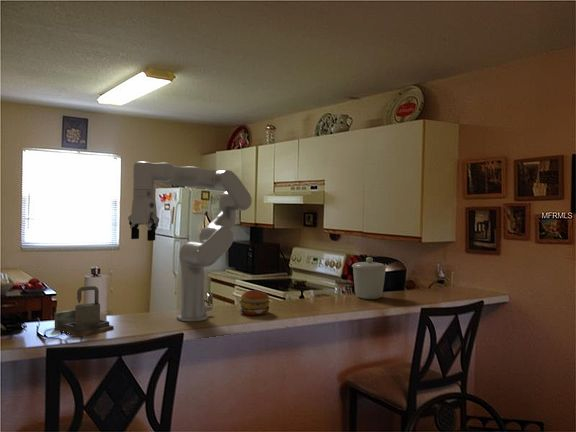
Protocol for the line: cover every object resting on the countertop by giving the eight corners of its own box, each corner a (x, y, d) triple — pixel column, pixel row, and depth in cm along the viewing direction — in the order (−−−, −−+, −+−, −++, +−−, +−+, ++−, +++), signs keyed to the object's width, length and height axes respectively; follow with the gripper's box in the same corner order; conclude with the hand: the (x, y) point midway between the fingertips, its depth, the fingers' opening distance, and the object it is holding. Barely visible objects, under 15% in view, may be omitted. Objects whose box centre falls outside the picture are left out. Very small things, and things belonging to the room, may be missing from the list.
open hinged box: (89, 322, 194) (89, 306, 194) (113, 329, 185) (113, 312, 185) (54, 329, 183) (54, 312, 183) (78, 337, 173) (78, 319, 173)
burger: (274, 315, 212) (274, 292, 212) (244, 318, 207) (244, 294, 207) (263, 309, 225) (264, 287, 224) (234, 311, 219) (235, 288, 219)
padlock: (74, 326, 182) (75, 286, 182) (98, 324, 186) (98, 284, 186) (76, 329, 179) (76, 288, 178) (100, 326, 183) (100, 286, 183)
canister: (347, 294, 265) (348, 255, 264) (380, 294, 267) (381, 255, 266) (355, 301, 247) (356, 259, 246) (390, 301, 249) (392, 259, 248)
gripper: (166, 195, 185) (165, 240, 186) (137, 194, 196) (137, 238, 196) (150, 194, 179) (149, 241, 180) (121, 194, 190) (120, 238, 190)
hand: (143, 239), depth 188 cm, fingers open, 9 cm apart
